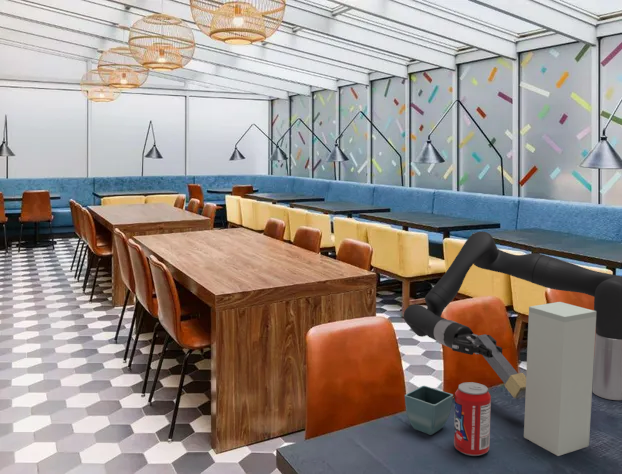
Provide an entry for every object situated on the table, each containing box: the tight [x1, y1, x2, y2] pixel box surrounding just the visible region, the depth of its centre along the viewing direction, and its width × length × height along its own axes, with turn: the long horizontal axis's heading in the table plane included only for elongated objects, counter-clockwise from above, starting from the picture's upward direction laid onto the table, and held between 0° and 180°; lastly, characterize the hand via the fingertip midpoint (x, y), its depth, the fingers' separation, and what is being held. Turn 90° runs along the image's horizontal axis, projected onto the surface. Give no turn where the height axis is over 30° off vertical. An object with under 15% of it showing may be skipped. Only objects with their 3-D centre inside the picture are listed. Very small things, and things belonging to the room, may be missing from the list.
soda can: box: [453, 381, 492, 457], centre depth 132 cm, size 8×8×15 cm
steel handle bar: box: [475, 333, 526, 400], centre depth 150 cm, size 4×19×4 cm
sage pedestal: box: [523, 301, 596, 457], centre depth 134 cm, size 10×10×32 cm
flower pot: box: [404, 385, 454, 436], centre depth 143 cm, size 9×9×9 cm
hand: (495, 353), depth 152 cm, fingers closed on steel handle bar, 3 cm apart
